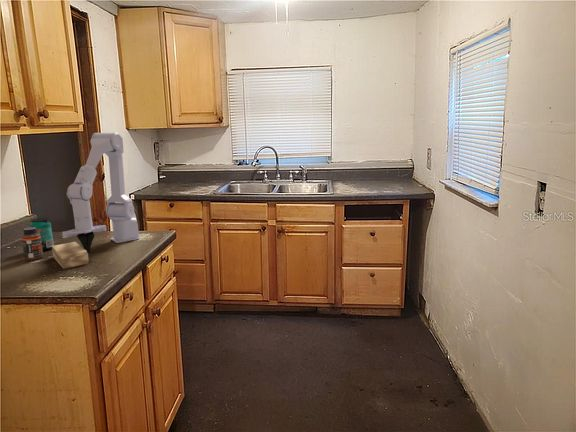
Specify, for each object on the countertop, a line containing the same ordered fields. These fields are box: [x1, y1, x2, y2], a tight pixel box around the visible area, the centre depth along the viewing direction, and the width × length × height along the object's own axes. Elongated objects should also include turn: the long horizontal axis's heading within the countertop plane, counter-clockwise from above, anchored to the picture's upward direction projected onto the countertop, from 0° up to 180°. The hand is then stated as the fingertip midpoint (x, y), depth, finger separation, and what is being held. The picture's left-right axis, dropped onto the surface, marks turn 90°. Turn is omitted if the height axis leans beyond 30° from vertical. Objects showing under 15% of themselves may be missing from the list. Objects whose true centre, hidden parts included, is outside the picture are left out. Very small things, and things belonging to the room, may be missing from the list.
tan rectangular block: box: [51, 241, 89, 270], centre depth 155 cm, size 8×16×4 cm, turn 39°
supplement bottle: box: [21, 226, 44, 261], centre depth 158 cm, size 6×6×11 cm
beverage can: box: [29, 217, 55, 252], centre depth 168 cm, size 7×7×12 cm
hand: (87, 253), depth 159 cm, fingers closed
